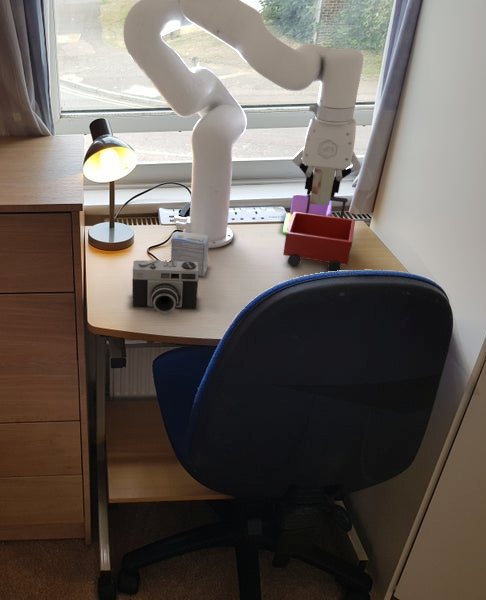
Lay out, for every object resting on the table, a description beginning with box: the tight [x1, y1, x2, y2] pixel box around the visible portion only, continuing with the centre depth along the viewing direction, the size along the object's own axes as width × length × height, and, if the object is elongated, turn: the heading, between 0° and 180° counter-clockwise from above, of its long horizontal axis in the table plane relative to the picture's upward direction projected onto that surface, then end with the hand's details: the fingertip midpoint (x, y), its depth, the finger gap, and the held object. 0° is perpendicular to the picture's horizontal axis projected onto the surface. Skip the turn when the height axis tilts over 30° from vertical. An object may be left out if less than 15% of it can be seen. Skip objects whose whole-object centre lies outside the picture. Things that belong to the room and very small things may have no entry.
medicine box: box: [170, 231, 210, 277], centre depth 145 cm, size 8×4×9 cm, turn 71°
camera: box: [131, 259, 199, 314], centre depth 132 cm, size 14×9×10 cm, turn 77°
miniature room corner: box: [282, 193, 333, 235], centre depth 163 cm, size 12×12×7 cm
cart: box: [282, 193, 356, 272], centre depth 149 cm, size 14×14×13 cm
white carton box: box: [310, 166, 336, 206], centre depth 140 cm, size 5×4×10 cm
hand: (321, 193), depth 142 cm, fingers closed on white carton box, 4 cm apart
